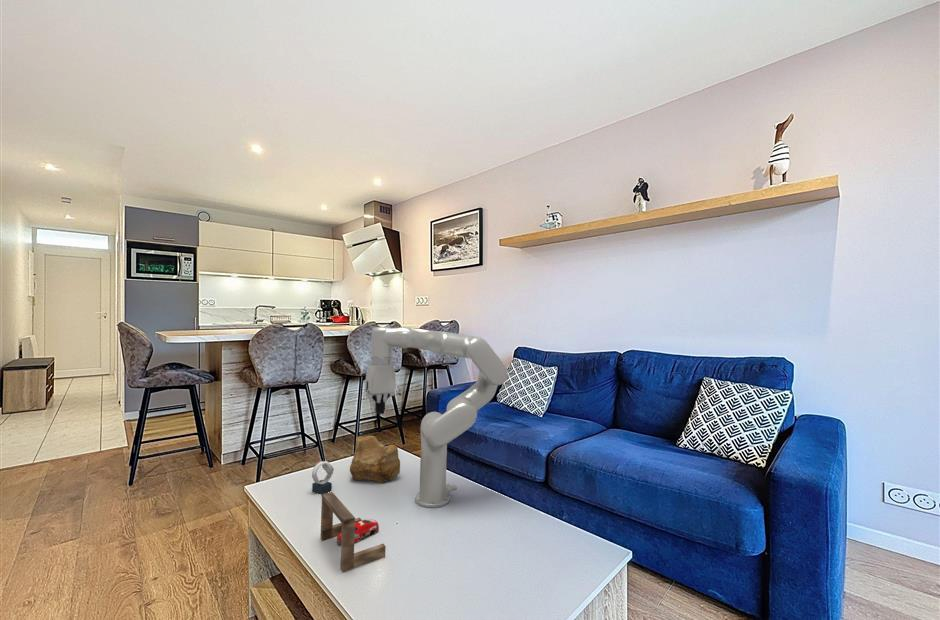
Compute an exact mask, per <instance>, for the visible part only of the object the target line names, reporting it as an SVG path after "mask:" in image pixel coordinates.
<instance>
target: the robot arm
mask: <svg viewBox="0 0 940 620" xmlns="http://www.w3.org/2000/svg"><path fill="white" fill-rule="evenodd" d="M370 342H371V344H370V349H371V350H370V364H369V365H368V366H367V369H366V374H365V380H364V381H365V383H364V392H365V398H367V399H371V400H373V401H374V405H375V407H374V408H375V409H374V410H375V413H376V414H378V415H384V413H385V411H386V402H387V401H388V399H389V398H391V397H393V396H395V395H396V385H397V384H396V381H397V380H396V372H395V366H394V365H393V363H395V362H396V357H393V353H394V352H393V349H394V348H397V349H398V348H399V349H407V348H411V349H412V348H413V349H419V350H424V351H427V352H428V351H429V352H432V353H434V354H437V355H443V356H449V357H450V356H451V357H456V358H464V359H470V360H471V361H472V363H473V364H474V365H475V367H476V368H477V369H478V377H477V380H476V381H475V383H474V384H472V385H471V386H470V387H469V388H467V389H466V390H465V391H463V392H462V393H460V394H458V395H457V396H456V397H453V398H452V399H451V400H450V401H449V402H448V403H447V405H446V411H445V412H444V413H441V412H437V411H431V412H427V414H425V415H424V417H423V418H422V419H421V424H420V463H419V464H420V466H419V467H420V469H419V470H420V471H419V492H418V493H416V494H415V496H414V502H416V504H417V505H418V506H419V505H420V506H421V507H425V508H439V507H442V506H445V505H447V504H448V503H449V502H450V500H451V499H450V498H451V497H450V493H451V492H454V491H456V490H457V489H458V486H457V485H456V484H452V485H451V484H450V483H447V459H448V458H447V457H448V455H447V454H448V449H447V448H448V444H449V443H451V442H452V441H453V440H455V439H457V438H458V437H459V436H460V435H462V434H464V433H465V432H466V431H468V430H470V428H471V427H473V425H474V424H475V422H476V420H477V417H478V411H479V410H480V409H481V408H483V407H484V406H485V405H487V404H488V403H490V402H491V400H492V399H493V398H494V396H495V394H496V392H497V389H498V386H500V385H503V384H504V383H505V382H506V381H507V379H508V376H509V373H508V368H507V365H505V364H504V362H503V361H502V360H501V358H500V356H499V355H498V354H497V353H496V352H495V351H494V349H493V348H492V347H491V345H490V344H489V343H488V341H486V340H485V339H484V338H482V337H478V336H474V335H468V334H460V333H456V332H448V331H443V330H441V331H440V330H427V329H423V328H422V329H420V328H415V327H407V326H400V327H396V328H394V327H393V328H392V327H389V326H388V327H386V326H377V327H376V326H375V327H373V328H372V329H371V341H370Z"/></svg>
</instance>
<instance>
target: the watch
mask: <svg viewBox="0 0 940 620" xmlns="http://www.w3.org/2000/svg"><path fill="white" fill-rule="evenodd" d="M320 467H322V469H323V470H324V471H325V473H326V475H325V477H324V478H323V479H319V477H318V474H317V472H318V470H319V469H320ZM334 468H335V467H333V465H332V464H331V463H330V462H329V461H326V460H325V461H323V460H321V461H319V462H317V463H316V464H315V465H314V467H313V469H312V472H311V473H312V475H311V477H312V480H313V483H312V484H311V486H312V487H311V493H314V492H315V493H314V494H317V493H318V494H317V495H319V494H321V495H320V496H322V494H324V493H328V492H330V491H331V492H332V488H333V487H332V484H333V483H332V482H329V481H330V479H331V478H332V476H333V474H334Z"/></svg>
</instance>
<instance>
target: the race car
mask: <svg viewBox="0 0 940 620" xmlns="http://www.w3.org/2000/svg"><path fill="white" fill-rule="evenodd" d="M379 528H380V525H379V523H378V521H377V520H375V519H372V518H369V519H362V520H361V521H358V522H356V523H355V539H354V544H357V543H358V542H361V541H362V540H364V539H367V538H369V537H372V536H373V535H375V534H377V533H378V532H379V530H380V529H379ZM336 538H337V539H336V542H337V544H338V545H339V546H341V533H340V534H339V535H338V537H336Z"/></svg>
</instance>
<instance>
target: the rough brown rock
mask: <svg viewBox="0 0 940 620" xmlns="http://www.w3.org/2000/svg"><path fill="white" fill-rule="evenodd" d="M355 441H356V442H355V451H354V453H353V458H352V459H351V463H350V465H349V472H350V474H351V478H352V479H353V480H357V481H358V480H359V481H360V480H370V481H374V482H376V483H386V481H391V480H393V479H395V478H396V477H397V476H399V474H400V472H401V460H400V458H399V449H398V446H397V445H396V444H388V446H387V445H386V446H385V445H384V444H382V443H381V442H380V441H379V440H378V439H377V437H376V436H374V435H366V436H364V435H360V436H356V439H355Z"/></svg>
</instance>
